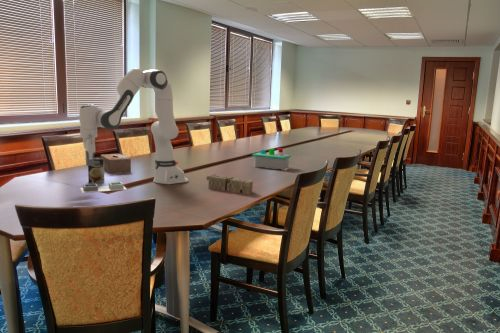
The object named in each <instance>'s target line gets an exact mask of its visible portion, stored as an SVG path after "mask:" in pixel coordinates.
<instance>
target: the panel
mask: <svg viewBox="0 0 500 333" xmlns="http://www.w3.org/2000/svg"><path fill="white" fill-rule="evenodd" d="M121 190H122V191H124V190H127V187H126V186H125V185H124V183H123V182H122V181H112V182H108V185H103V186H99V185H98V183H85V184H84V183H83V184H82V187H80V191H81V193H82V194H83V193H84V194H85V193H94V192H95V193H97V192H109V191H110V192H111V191H121Z"/></svg>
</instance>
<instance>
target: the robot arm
mask: <svg viewBox="0 0 500 333" xmlns="http://www.w3.org/2000/svg"><path fill="white" fill-rule="evenodd" d="M167 77H168V76H167V75H166V73H165V72H164V71H163V70H160V69H147V70H146V69H145V70H142V69H141V68H138V67H134V68H132V69H130V70H129V71H128V72H127V73H126V74H125V75H124V76H123V77H122V79H121V80H120V81H119V82H118V85H117V87H116V90H117V91H116V92H117V94H118V95H119V99H118V100H117V102H116V103H115V105H114V106H113V108H111V109H110V110H105V109H102V108H100V107H98V106H96V105H95V104H93V103H91V104H90V103H89V104H84V105H81V106H80V108H79V112H78V113H79V116H78V118H79V124H80V126H79V135H80V136H79V137H80V138H81V139H82V143H83V148H84V149H85V151H86V150H87V151H88V153H89V159H90V160H91V159H93V158H92V156H93V153H94V154H96V142H95V140H96V138H98V127H100V128H102V129H103V128H104V129H107V130H111V131H112V130H116V129H117V128H118V127H119V126H120V124H121V121H122V117H123V115H124V114H125V112H126V111H127V109H128V108H129V106H130V104H131V103H132V102H133V99H134V97H135V96H136V94H137V93H138V91H140V89H141V88H145V89H153V91H154V112H155V114H156V117H157V121H154V122H153V123H151V126H150V131H151V133H152V137H153V141H154V146H155V161H154V168H155V172H154V177H153V182H154V183H156V184H164V185H172V184H174V185H175V184H181V183H188V182H189V179H188V178H187V177H186V176H185V172H184V170H182V168H180V167H179V166H177V165H178V164H179V162H178V161H177V160H175V159H174V147H173V145H172V142H171V140H174V139H176V138H177V137H178V136H179V131H180V130H179V127H178V126H177V124H176V119H175V115H174V102H173V99H174V95H173V89H172V86H171V84H170V83H169V81H168V78H167Z"/></svg>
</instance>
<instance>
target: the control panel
mask: <svg viewBox="0 0 500 333" xmlns="http://www.w3.org/2000/svg"><path fill="white" fill-rule="evenodd" d="M277 150H278V151H277V153H276V152H275V148H269V151H268V152H266V150H265V149H261V150H260V152H256V153H252V155H251V156H252V157H254V159H253V166H255V167H254V168H260V167H265V168H264V169H268V168H273V169H272V170H277V169H286V168H289V164H290V163H289V162H290V158H292V155H290V154H284V152H283V150H285V148H282V147H277Z"/></svg>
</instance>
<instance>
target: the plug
mask: <svg viewBox="0 0 500 333" xmlns="http://www.w3.org/2000/svg"><path fill="white" fill-rule="evenodd" d="M84 151H85V165H86V166H87V167H88V166H92V165H94V158H95V153H93V156H92V158H93V159H91V160H90V159H89V153H88V151H87V150H86V149H85V150H84Z"/></svg>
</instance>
